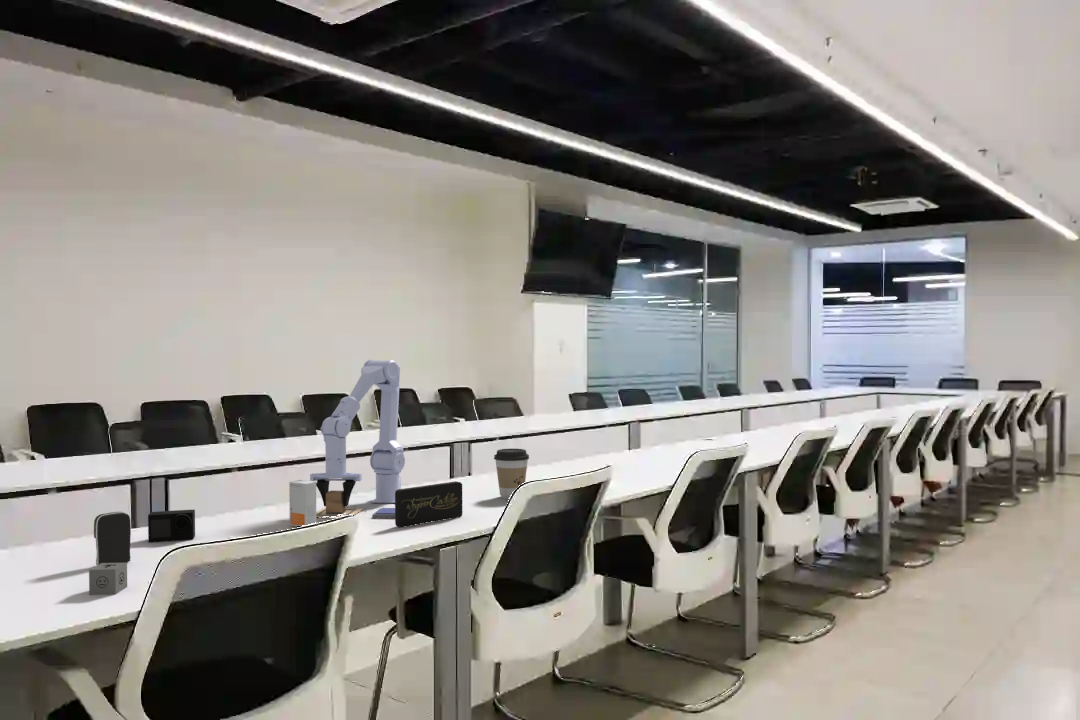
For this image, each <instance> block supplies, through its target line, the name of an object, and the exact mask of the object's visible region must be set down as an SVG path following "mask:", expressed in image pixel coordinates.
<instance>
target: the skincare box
mask: <svg viewBox="0 0 1080 720" xmlns="http://www.w3.org/2000/svg"><path fill="white" fill-rule="evenodd" d="M316 483H317V481H310V480H305V479H304V480H303V479H297V480H291V481H289V483H288V485H289V488H288V490H289V491H288V492H289V495H288V496H289V501H288V502H289V526H290V525H291V526H290V527H297V526H302V525H308V524H311V523H315V522H316V523H317V518H316V512H317V486H316ZM297 528H298V527H297Z"/></svg>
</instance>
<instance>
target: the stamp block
mask: <svg viewBox="0 0 1080 720" xmlns="http://www.w3.org/2000/svg"><path fill="white" fill-rule="evenodd" d="M325 508H326V514H342V513H344V512H345V511H346V508H347V507H344V490H329V492H327V493H326V506H325Z"/></svg>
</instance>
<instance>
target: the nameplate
mask: <svg viewBox="0 0 1080 720" xmlns="http://www.w3.org/2000/svg"><path fill="white" fill-rule="evenodd" d="M394 508H395V518H394V521H395V522H394V524H395V526H396V527H398V528H401V527H402V528H405V527H404V526H407V527H411V526H410V525H413V526H416V525H415V524H418V525H421V524H420V523H424V524H427V523H426V522H430V523H432V522H431V521H435V522H439V521H438V520H441V521H444V520H443V519H447V520H450V519H449V518H452V519H457V518H456V517H458V518H461V517H462V516H463V483H462V482H460V481H449V482H442V483H435V484H427V485H420V486H412V487H406V488H401V489H398V490H396V492H395V503H394Z"/></svg>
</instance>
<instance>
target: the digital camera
mask: <svg viewBox="0 0 1080 720" xmlns="http://www.w3.org/2000/svg"><path fill="white" fill-rule="evenodd" d="M147 526H148V527H147V531H148V534H147V535H148V538H147V539H148V540H147V541H148V542H147V543H163V542H165V541H166V542H180V541H193V540H194V539H195V537H196V509H179V510H178V509H177V510H162V511H161V510H160V511H150V512H149V513H148V514H147Z"/></svg>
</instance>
